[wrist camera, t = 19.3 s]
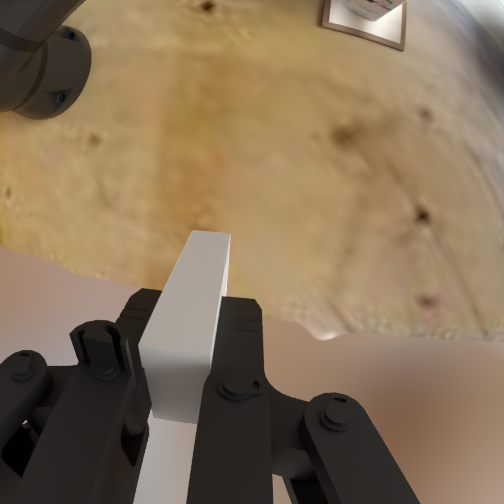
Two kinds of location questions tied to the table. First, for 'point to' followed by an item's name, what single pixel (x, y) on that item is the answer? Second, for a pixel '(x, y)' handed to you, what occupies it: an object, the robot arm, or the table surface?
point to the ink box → (373, 7)
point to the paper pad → (367, 23)
